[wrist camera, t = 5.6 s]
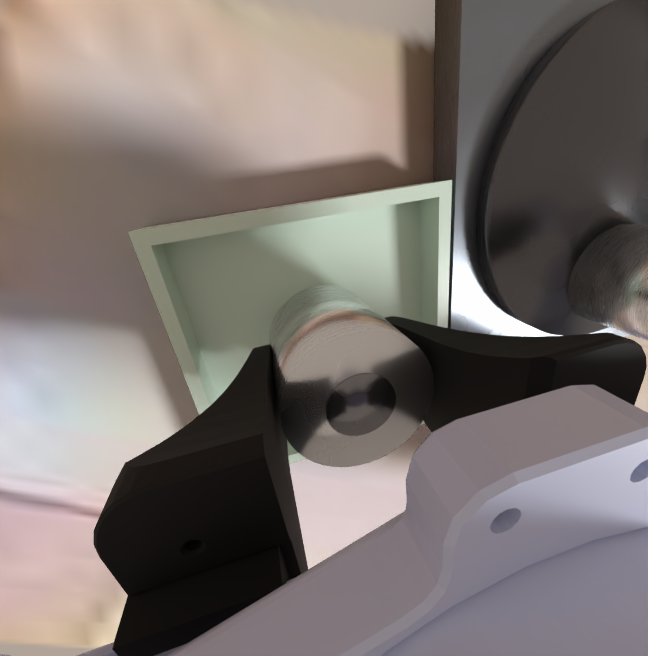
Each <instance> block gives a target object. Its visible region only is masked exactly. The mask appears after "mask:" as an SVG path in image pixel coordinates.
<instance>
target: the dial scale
mask: <svg viewBox="0 0 648 656" xmlns="http://www.w3.org/2000/svg"><path fill="white" fill-rule="evenodd" d="M446 180H452V201H451V234H450V267H449V300H448V328H449V329H455V330H460V331H466V332H473V333H481V334H490V335H504V336H566V335H579V334H592V333H614V334H616V335H619V336H622V337H626V336H630V334H627V333H625V332H622V331H619V330H616V329H613V328H610V327H607V326H604V325H601V324H599V323H596V322H593V321H590V320H587V319H584V318H581V317H579V316H577V315H576V314H575V313H574V312H573V311H572V309H571V308H570V305H569V302H568V295H567V294H568V283H569V279H570V276H571V273H572V270H573V268H574V266H575V264H576V262H577V260H578V259H579V257H580V256H581V254H582V253H583V251H584V250H585V249H586V247H587V246H588V245H589V244H590V243H591V242H592V241H593V240H594V239H595V238H596V237H597V236H599V235H600V234H601V233H603V232H604V231H606V230H608V229H609V228H612V227H614V226H617V225H620V224H642V225H648V0H435V107H434V182H436V181H446Z"/></svg>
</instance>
